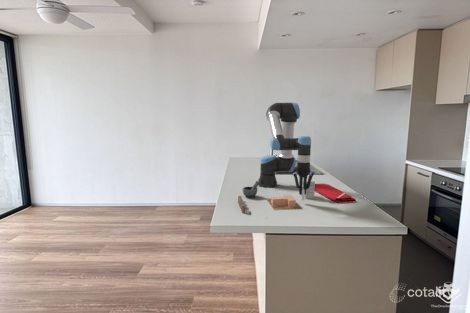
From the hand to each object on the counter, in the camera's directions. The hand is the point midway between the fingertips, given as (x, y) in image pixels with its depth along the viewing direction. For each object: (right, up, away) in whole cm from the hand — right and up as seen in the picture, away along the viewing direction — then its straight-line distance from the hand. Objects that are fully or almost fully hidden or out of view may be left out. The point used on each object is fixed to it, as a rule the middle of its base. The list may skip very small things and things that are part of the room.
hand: (302, 199), depth 180 cm
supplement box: (+6, -2, +16) cm, 17 cm away
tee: (-12, -3, -1) cm, 13 cm away
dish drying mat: (+26, -1, +27) cm, 38 cm away
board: (-20, -4, -1) cm, 20 cm away
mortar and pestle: (-31, -2, +15) cm, 35 cm away
